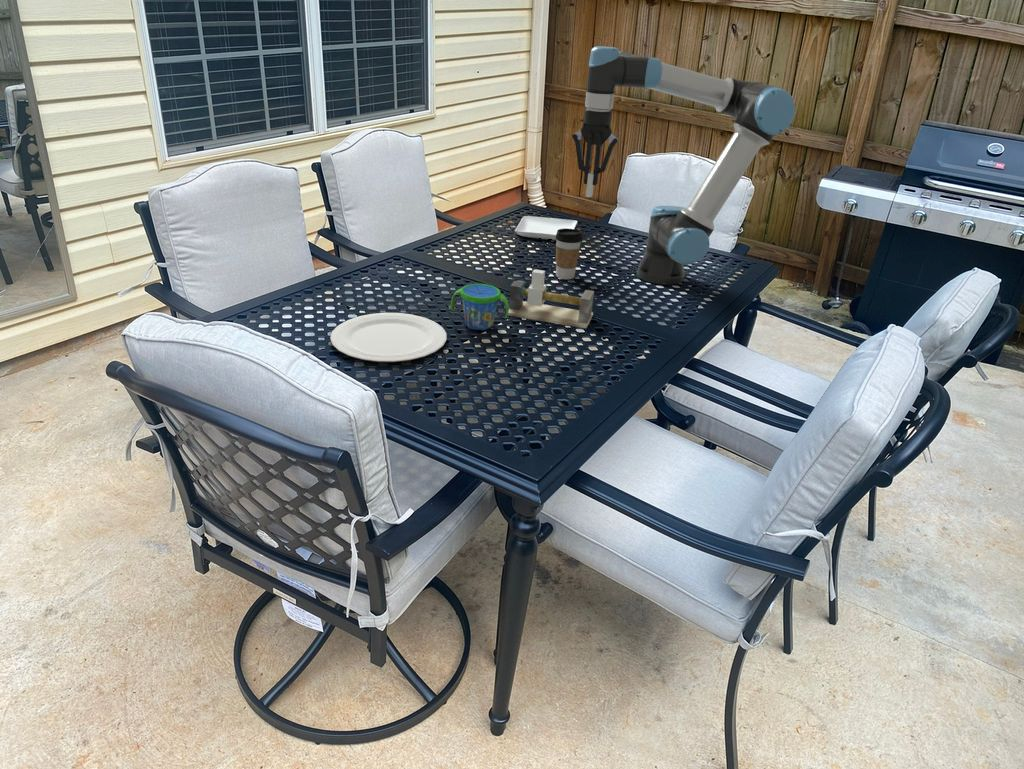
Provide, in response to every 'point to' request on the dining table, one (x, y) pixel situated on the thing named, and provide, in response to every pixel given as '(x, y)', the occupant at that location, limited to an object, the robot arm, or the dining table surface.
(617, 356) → the dining table surface
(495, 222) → the dining table surface
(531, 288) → the sleeve
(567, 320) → the lead screw slide rig
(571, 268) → the coffee cup
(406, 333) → the plate
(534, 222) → the salad plate
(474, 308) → the snack cup
